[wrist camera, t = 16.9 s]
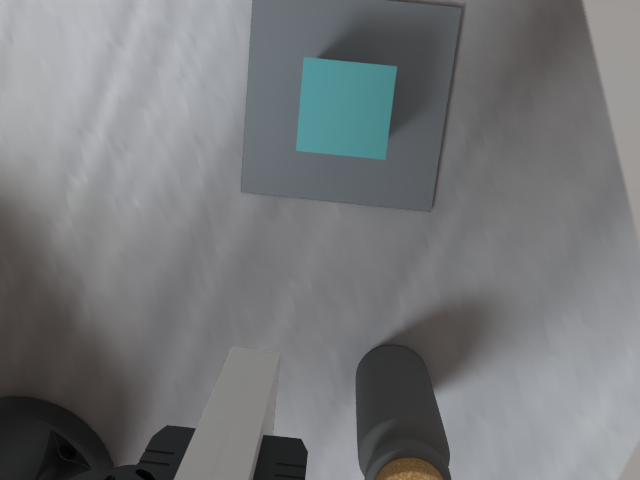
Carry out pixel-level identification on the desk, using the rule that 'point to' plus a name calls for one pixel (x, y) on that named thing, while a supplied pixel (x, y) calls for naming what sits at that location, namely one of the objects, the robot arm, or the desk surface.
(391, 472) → the bottle
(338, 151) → the teal rectangular block
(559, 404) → the desk surface
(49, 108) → the desk surface
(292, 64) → the stand
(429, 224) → the desk surface
